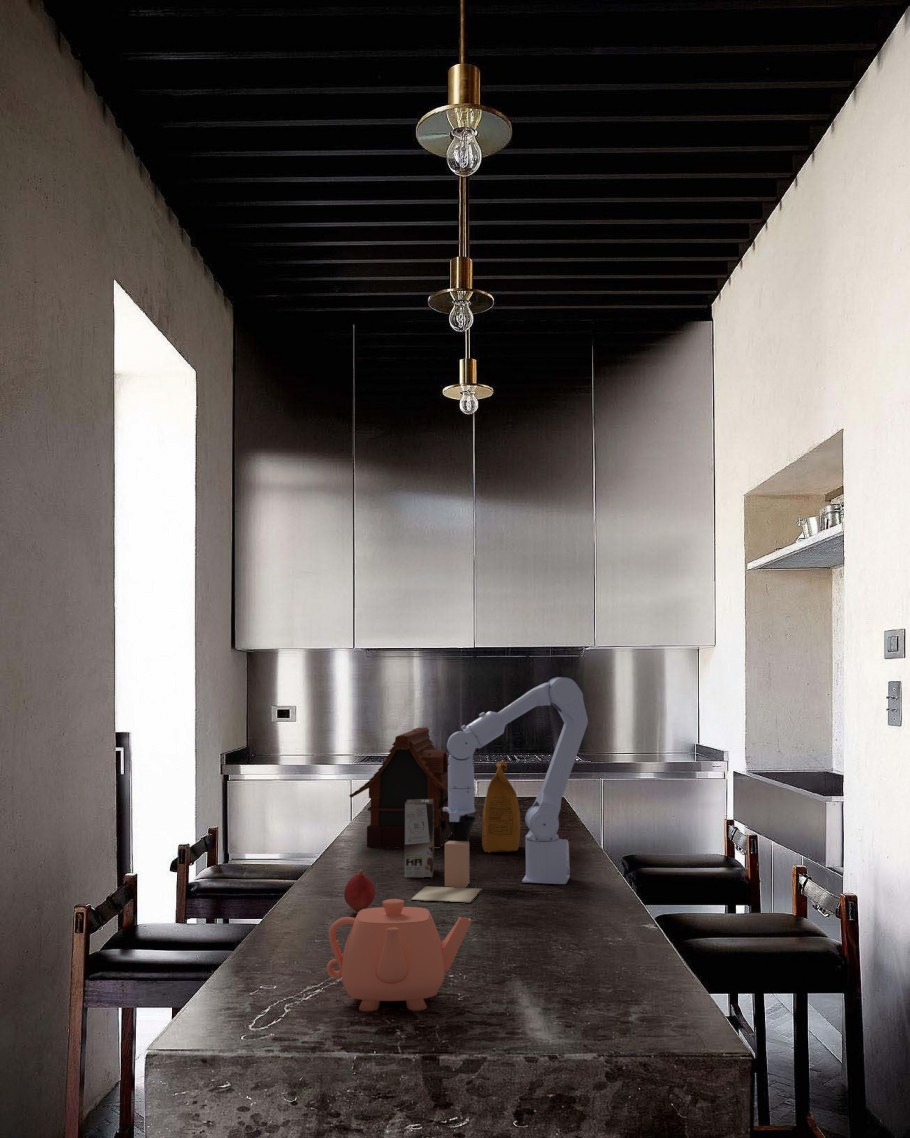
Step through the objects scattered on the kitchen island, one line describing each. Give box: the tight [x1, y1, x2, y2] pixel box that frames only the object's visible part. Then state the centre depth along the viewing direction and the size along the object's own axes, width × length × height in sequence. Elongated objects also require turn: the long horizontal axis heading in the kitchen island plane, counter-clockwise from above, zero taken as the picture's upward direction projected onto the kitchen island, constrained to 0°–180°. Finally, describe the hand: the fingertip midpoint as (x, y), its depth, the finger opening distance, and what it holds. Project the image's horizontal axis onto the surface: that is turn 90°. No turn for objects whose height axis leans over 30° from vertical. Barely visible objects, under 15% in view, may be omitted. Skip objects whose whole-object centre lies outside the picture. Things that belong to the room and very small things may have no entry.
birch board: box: [410, 885, 483, 902], centre depth 205 cm, size 12×12×1 cm
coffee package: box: [481, 760, 522, 854], centre depth 258 cm, size 10×12×22 cm
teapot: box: [326, 898, 472, 1012], centre depth 141 cm, size 16×17×14 cm
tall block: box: [444, 840, 470, 887], centre depth 215 cm, size 4×4×9 cm
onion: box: [343, 869, 376, 914], centre depth 192 cm, size 6×6×8 cm
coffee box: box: [404, 799, 435, 878], centre depth 229 cm, size 9×6×16 cm
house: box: [348, 727, 452, 848], centre depth 277 cm, size 35×28×29 cm
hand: (461, 851), depth 220 cm, fingers closed
